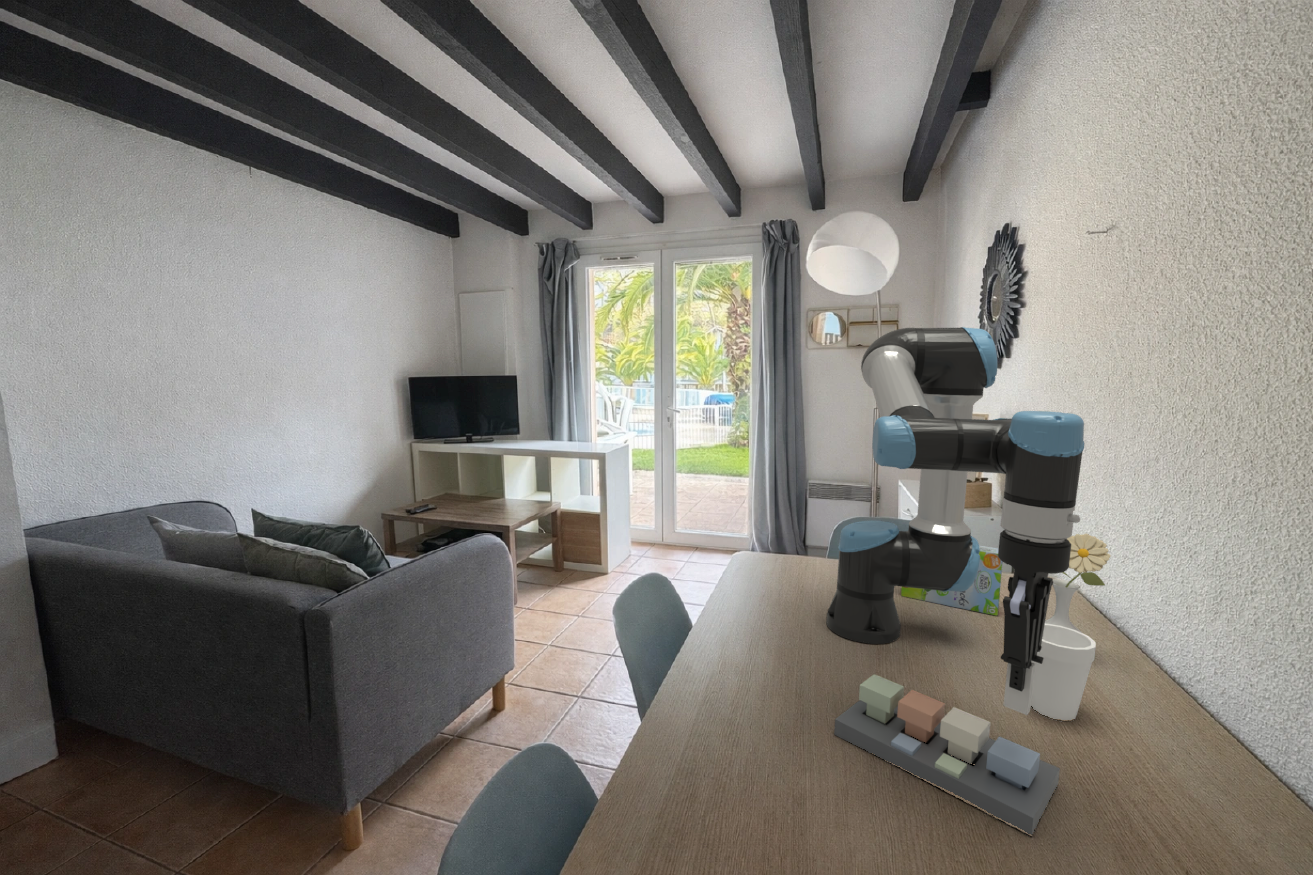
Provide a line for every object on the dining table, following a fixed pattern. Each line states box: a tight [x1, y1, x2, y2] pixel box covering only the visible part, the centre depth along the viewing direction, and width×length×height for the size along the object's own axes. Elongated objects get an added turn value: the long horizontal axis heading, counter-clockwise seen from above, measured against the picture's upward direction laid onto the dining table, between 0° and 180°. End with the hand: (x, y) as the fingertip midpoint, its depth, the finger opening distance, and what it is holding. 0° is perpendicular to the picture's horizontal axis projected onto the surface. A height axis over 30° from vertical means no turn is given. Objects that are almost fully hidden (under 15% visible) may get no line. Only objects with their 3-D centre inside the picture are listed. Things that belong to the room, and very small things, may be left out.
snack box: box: [900, 545, 1004, 617], centre depth 138 cm, size 21×6×15 cm, turn 58°
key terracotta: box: [897, 689, 946, 744], centre depth 83 cm, size 5×5×5 cm
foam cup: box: [1031, 624, 1097, 720], centre depth 94 cm, size 10×9×13 cm
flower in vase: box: [1045, 533, 1112, 633], centre depth 114 cm, size 13×11×25 cm
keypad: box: [833, 699, 1061, 836], centre depth 82 cm, size 26×13×3 cm, turn 43°
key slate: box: [986, 736, 1041, 791], centre depth 75 cm, size 5×5×5 cm
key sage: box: [858, 673, 905, 725], centre depth 88 cm, size 5×5×5 cm
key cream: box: [940, 706, 991, 765], centre depth 79 cm, size 5×5×5 cm
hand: (1016, 707), depth 74 cm, fingers closed
